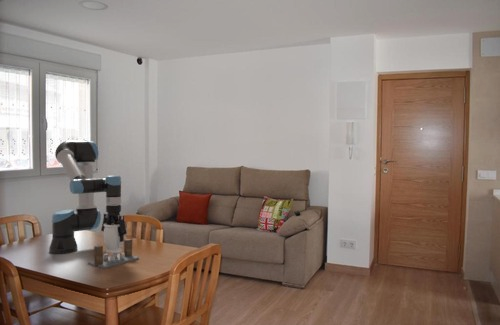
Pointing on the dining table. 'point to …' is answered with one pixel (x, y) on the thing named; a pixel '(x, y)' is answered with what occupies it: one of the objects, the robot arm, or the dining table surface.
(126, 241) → the frame posts
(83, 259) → the dining table surface
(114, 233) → the jar
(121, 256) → the peg stand
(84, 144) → the robot arm
